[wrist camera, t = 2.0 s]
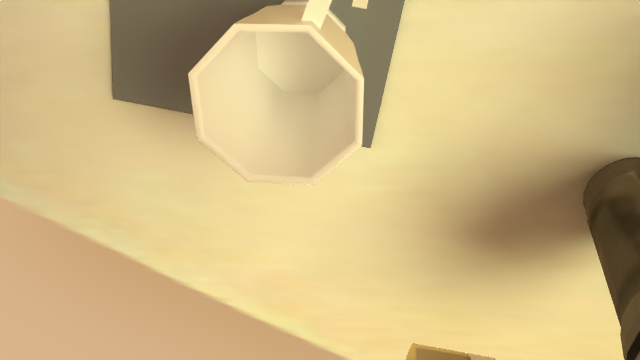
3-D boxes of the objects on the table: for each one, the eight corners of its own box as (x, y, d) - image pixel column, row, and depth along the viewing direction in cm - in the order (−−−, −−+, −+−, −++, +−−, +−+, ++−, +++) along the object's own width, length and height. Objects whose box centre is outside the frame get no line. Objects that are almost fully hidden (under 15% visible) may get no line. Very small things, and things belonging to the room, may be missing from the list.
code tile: (108, -182, 26) (105, -182, 25) (431, -122, 25) (432, -121, 25) (115, 96, 32) (113, 99, 32) (370, 145, 32) (370, 148, 32)
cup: (216, 76, 31) (164, 150, 24) (282, -126, 26) (240, -105, 19) (342, 128, 32) (327, 214, 25) (430, -58, 26) (443, -15, 20)
